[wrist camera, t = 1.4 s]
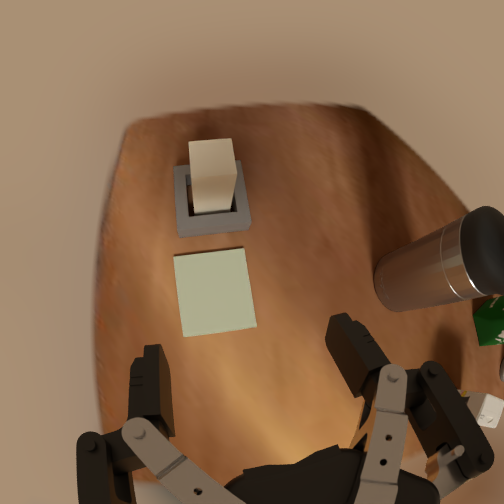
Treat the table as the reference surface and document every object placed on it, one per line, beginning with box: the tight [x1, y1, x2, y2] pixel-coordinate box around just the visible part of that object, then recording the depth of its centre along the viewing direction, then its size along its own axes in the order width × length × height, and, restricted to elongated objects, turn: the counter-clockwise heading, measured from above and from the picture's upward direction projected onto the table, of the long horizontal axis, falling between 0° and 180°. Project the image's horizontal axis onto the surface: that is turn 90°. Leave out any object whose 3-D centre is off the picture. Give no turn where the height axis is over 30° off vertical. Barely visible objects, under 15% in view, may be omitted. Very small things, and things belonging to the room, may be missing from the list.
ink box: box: [432, 390, 504, 428], centre depth 29 cm, size 9×5×12 cm, turn 63°
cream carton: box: [189, 138, 237, 216], centre depth 32 cm, size 4×4×11 cm
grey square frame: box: [173, 160, 251, 238], centre depth 36 cm, size 9×9×3 cm
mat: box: [174, 248, 257, 337], centre depth 34 cm, size 9×10×1 cm
